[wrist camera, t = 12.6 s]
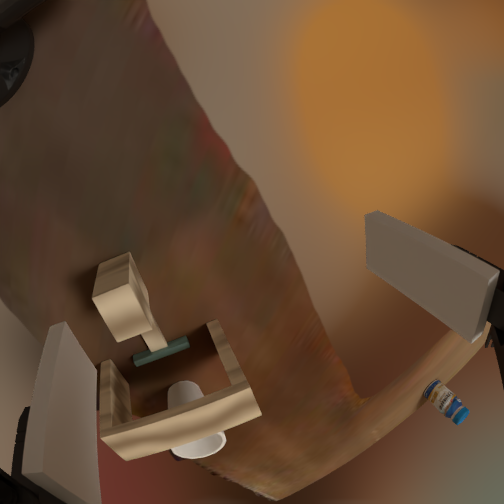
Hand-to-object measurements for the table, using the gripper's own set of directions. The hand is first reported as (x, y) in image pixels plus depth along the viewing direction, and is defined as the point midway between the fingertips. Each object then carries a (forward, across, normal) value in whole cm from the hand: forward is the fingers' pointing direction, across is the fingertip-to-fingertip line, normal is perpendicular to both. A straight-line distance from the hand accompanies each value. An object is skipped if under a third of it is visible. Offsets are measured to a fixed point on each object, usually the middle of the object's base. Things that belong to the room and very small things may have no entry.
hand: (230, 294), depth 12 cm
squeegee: (+33, -10, -18) cm, 39 cm away
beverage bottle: (+32, +66, -95) cm, 120 cm away
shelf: (+32, -10, -29) cm, 45 cm away
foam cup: (+33, -10, -39) cm, 52 cm away
